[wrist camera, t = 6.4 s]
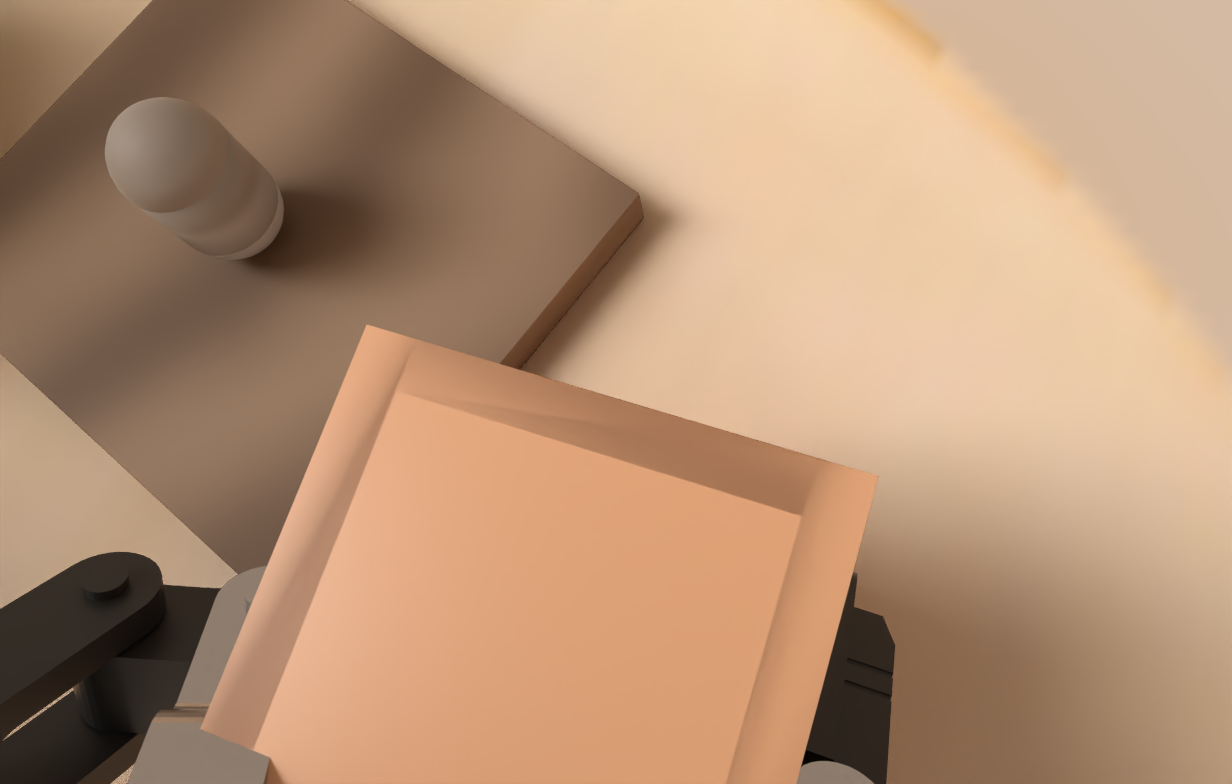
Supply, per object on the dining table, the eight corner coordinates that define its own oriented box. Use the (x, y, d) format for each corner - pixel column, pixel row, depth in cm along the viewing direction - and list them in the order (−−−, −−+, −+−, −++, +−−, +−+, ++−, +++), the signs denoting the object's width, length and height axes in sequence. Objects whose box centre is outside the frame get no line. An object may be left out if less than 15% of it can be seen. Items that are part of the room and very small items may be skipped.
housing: (449, 740, 18) (147, 856, 9) (541, 478, 19) (366, 324, 10) (716, 843, 17) (711, 1105, 8) (796, 560, 18) (878, 476, 9)
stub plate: (-58, 280, 24) (-294, 173, 18) (250, -46, 25) (117, -235, 20) (313, 621, 20) (158, 616, 15) (643, 217, 22) (615, 75, 16)
